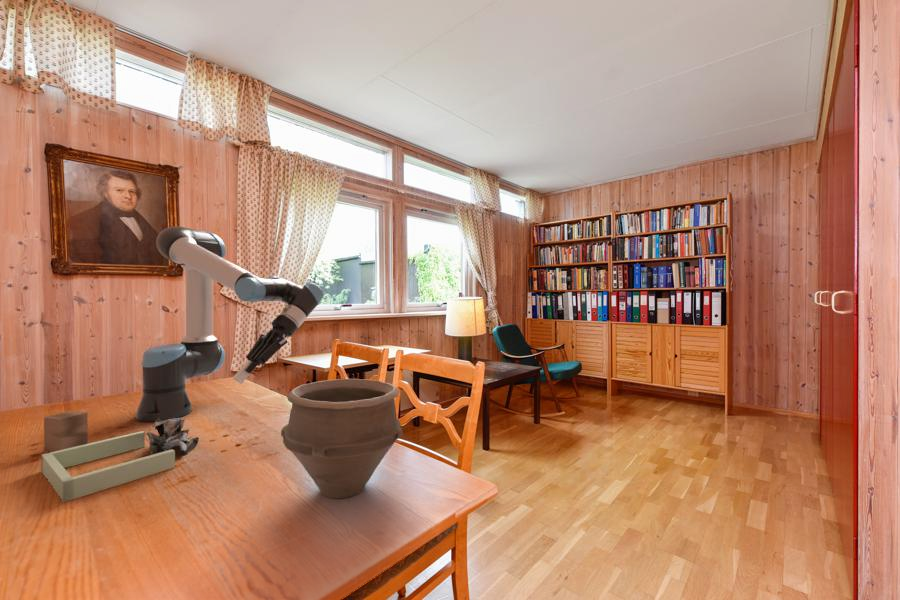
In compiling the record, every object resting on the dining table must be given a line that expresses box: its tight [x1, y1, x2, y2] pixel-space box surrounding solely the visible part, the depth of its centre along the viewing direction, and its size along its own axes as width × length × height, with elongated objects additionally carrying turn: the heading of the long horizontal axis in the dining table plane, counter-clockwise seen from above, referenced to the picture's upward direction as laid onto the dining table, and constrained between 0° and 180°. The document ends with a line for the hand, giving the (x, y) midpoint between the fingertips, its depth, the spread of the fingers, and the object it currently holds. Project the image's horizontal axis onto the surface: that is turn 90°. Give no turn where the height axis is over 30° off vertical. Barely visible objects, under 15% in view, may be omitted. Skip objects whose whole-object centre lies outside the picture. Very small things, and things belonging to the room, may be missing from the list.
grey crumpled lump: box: [145, 416, 200, 455], centre depth 102 cm, size 12×11×15 cm
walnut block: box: [43, 410, 89, 453], centre depth 102 cm, size 6×6×9 cm
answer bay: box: [41, 430, 176, 503], centre depth 90 cm, size 19×22×4 cm
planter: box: [280, 378, 404, 500], centre depth 82 cm, size 25×24×22 cm
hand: (237, 380), depth 113 cm, fingers closed
